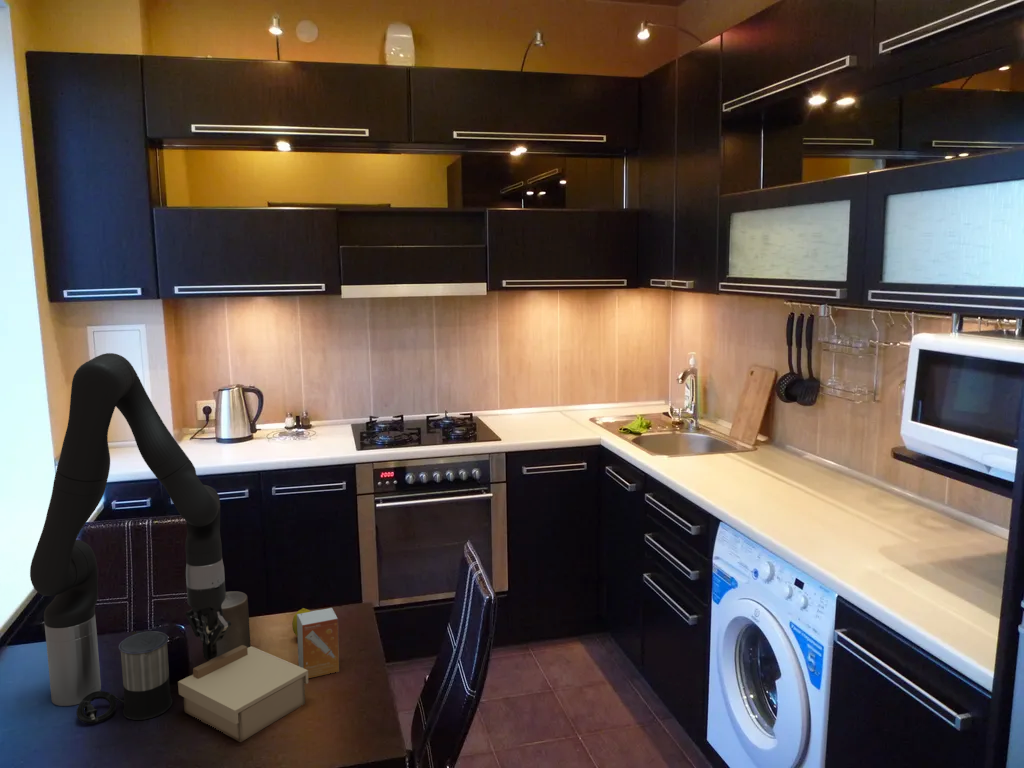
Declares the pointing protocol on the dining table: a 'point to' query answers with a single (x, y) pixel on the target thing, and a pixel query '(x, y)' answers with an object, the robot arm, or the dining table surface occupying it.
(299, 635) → the small box
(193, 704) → the tray
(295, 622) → the lemon
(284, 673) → the lid
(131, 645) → the milk frother
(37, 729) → the dining table surface
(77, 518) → the robot arm
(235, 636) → the pillar candle
